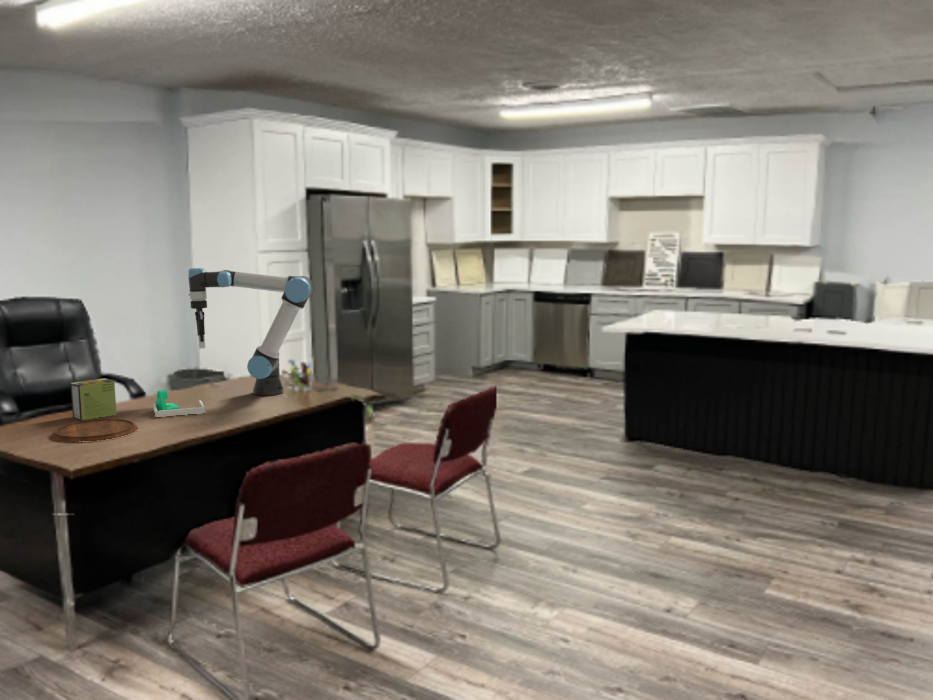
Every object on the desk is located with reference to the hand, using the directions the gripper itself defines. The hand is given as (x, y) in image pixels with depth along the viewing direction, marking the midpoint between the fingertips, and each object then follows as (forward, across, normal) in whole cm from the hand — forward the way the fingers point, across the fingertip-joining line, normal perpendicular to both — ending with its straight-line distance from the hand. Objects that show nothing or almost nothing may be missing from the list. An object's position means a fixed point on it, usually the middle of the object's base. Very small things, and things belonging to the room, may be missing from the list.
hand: (202, 348), depth 380 cm
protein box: (+24, +17, -50) cm, 58 cm away
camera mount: (+25, +21, -20) cm, 39 cm away
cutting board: (+25, +49, -50) cm, 75 cm away
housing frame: (+25, +25, -15) cm, 39 cm away
